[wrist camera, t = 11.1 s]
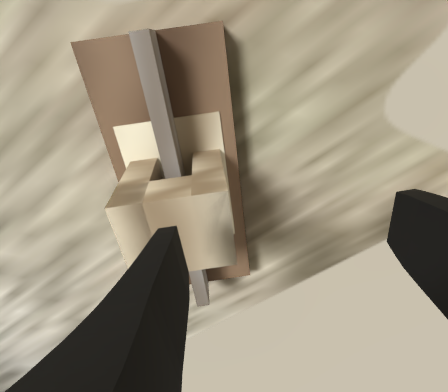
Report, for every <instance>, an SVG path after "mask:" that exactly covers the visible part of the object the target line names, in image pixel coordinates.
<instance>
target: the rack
mask: <svg viewBox="0 0 448 392" xmlns="http://www.w3.org/2000/svg"><path fill="white" fill-rule="evenodd" d="M70 43H71V45H72V48H73V51H74V54H75V57H76V60H77V63H78V66H79V69H80V72H81V75H82V77H83V80H84V83H85V86H86V89H87V92H88V95H89V98H90V101H91V104H92V107H93V109H94V112H95V115H96V118H97V121H98V124H99V127H100V130H101V133H102V136H103V138H104V141H105V144H106V147H107V150H108V153H109V156H110V159H111V162H112V165H113V168H114V170H115V173H116V176H117V179H118V182H119V181H120V179H121V178H122V176H123V174H124V172H125V170H126V169H127V167H128V165H129V163H130V162H131V161H138V160H145V159H152V158H157V159H158V163H159V167H160V171H161V175H162V179H169V178H176V177H183V176H190V175H192V158H193V153H194V152H201V151H208V150H215V149H219V150H220V155H221V160H222V164H223V169H224V174H225V179H226V184H227V189H228V196H229V204H230V211H231V219H232V227H233V235H234V243H235V250H236V258H237V264H236V265H230V266H223V267H216V268H210V269H203V270H196V271H190V272H189V284H192V287H193V291H194V295H195V299H196V303H197V307H198V306H205V305H209V288H208V281H214V280H220V279H227V278H233V277H240V276H246V275H250V271H249V261H248V252H247V243H246V233H245V224H244V215H243V205H242V196H241V187H240V177H239V168H238V159H237V149H236V140H235V131H234V121H233V112H232V103H231V93H230V84H229V75H228V65H227V56H226V47H225V38H224V28H223V21H218V22H211V23H204V24H197V25H190V26H183V27H176V28H169V29H162V30H152V29H144V30H137V31H130V32H129V34H126V35H119V36H112V37H105V38H98V39H91V40H84V41H77V42H70Z"/></svg>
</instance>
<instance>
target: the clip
mask: <svg viewBox="0 0 448 392" xmlns="http://www.w3.org/2000/svg"><path fill="white" fill-rule="evenodd" d="M105 211H106V213H107V216H108V218H109V221H110V224H111V226H112V229H113V231H114V234H115V237H116V239H117V242H118V244H119V247H120V250H121V252H122V255H123V257H124V260H125V263H126V265H127V268H129V267H130V266H131V264H132V263H133V262H134V261H135V259H136V258H137V257H138V255H139V254H140V252H141V251H142V250H143V248H144V247H145V245H146V244H147V243H148V241H149V240H150V239H151V237H152V236H153V234H154V233H155V232H156V231H157V229H158V228H164V227H170V226H177V229H178V233H179V236H180V240H181V244H182V248H183V252H184V255H185V259H186V263H187V267H188V271H189V272H190V271H196V270H203V269H210V268H216V267H223V266H230V265H236V264H237V258H236V250H235V243H234V235H233V227H232V219H231V211H230V204H229V196H228V189H227V184H226V179H225V174H224V169H223V164H222V160H221V155H220V150H219V149H215V150H208V151H201V152H194V153H193V158H192V175H190V176H183V177H176V178H169V179H162V175H161V171H160V167H159V163H158V159H157V158H152V159H145V160H138V161H131V162H130V163H129V165H128V167H127V169H126V170H125V172H124V174H123V176H122V178H121V179H120V181H119V183H118V185H117V187H116V189H115V190H114V192H113V194H112V196H111V198H110V200H109V201H108V203H107V205H106V207H105Z"/></svg>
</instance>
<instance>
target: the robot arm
mask: <svg viewBox="0 0 448 392" xmlns="http://www.w3.org/2000/svg"><path fill="white" fill-rule="evenodd" d="M387 243H388V244H389V246H390V248H391V249H392V251H393V252H394V254H395V256H396V257H397V259H398V260H399V261H400V263H401V265H402V266H403V268H404V269H405V270H406V271H407V272H408V273H409V275H410V276H411V277H412V278H413V280H414V281H415V282H416V283H417V284H418V285H419V287H420V288H421V289H422V290H423V291H424V292H425V294H426V295H427V296H428V297H429V298H430V299H431V300H432V302H433V303H434V304H435V305H436V306H437V307H438V309H439V310H440V311H441V312H442V313H443V314H444V316H445V317H446V318H447V319H448V198H446V197H443V196H440V195H436V194H433V193H429V192H426V191H421V190H417V189H412V190H405V191H399V192H396V196H395V201H394V207H393V212H392V217H391V222H390V228H389V233H388V238H387ZM188 311H189V271H188V267H187V263H186V259H185V255H184V252H183V248H182V244H181V240H180V236H179V233H178V229H177V226H170V227H164V228H158V229H157V231H156V232H155V233H154V234H153V236H152V237H151V239H150V240H149V241H148V243H147V244H146V245H145V247H144V248H143V250H142V251H141V252H140V254H139V255H138V257H137V258H136V259H135V261H134V262H133V263H132V264H131V266H130V267H129V268H128V270H127V271H126V272H125V274H124V275H123V276H122V277H121V279H120V280H119V281H118V282H117V283H116V285H115V286H114V287H113V288H112V289H111V291H110V292H109V293H108V294H107V295H106V297H105V298H104V299H103V300H102V301H101V302H100V303H99V305H98V306H97V307H96V308H95V309H94V310H93V311H92V312H91V313H90V314H89V315H88V316H87V317H86V318H85V319H84V320H83V321H82V322H81V323H80V324H79V325H78V326H77V327H76V328H75V329H74V330H73V331H72V332H71V333H70V334H69V335H68V336H67V337H66V338H65V339H64V340H63V341H62V342H61V343H60V344H59V345H58V346H57V347H55V348H54V349H53V350H52V351H51V352H50V353H49V354H48V355H47V356H45V357H44V358H43V359H42V360H41V361H40V362H39V363H38V364H37V365H36V366H34V367H33V368H32V369H31V370H30V371H29V372H28V373H27V374H25V375H24V376H23V377H22V378H21V379H20V380H18V381H17V382H16V383H15V384H14V385H12V386H11V387H10V388H9V389H8V390H6V391H5V392H181V388H182V371H183V361H184V351H185V341H186V331H187V321H188Z"/></svg>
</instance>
